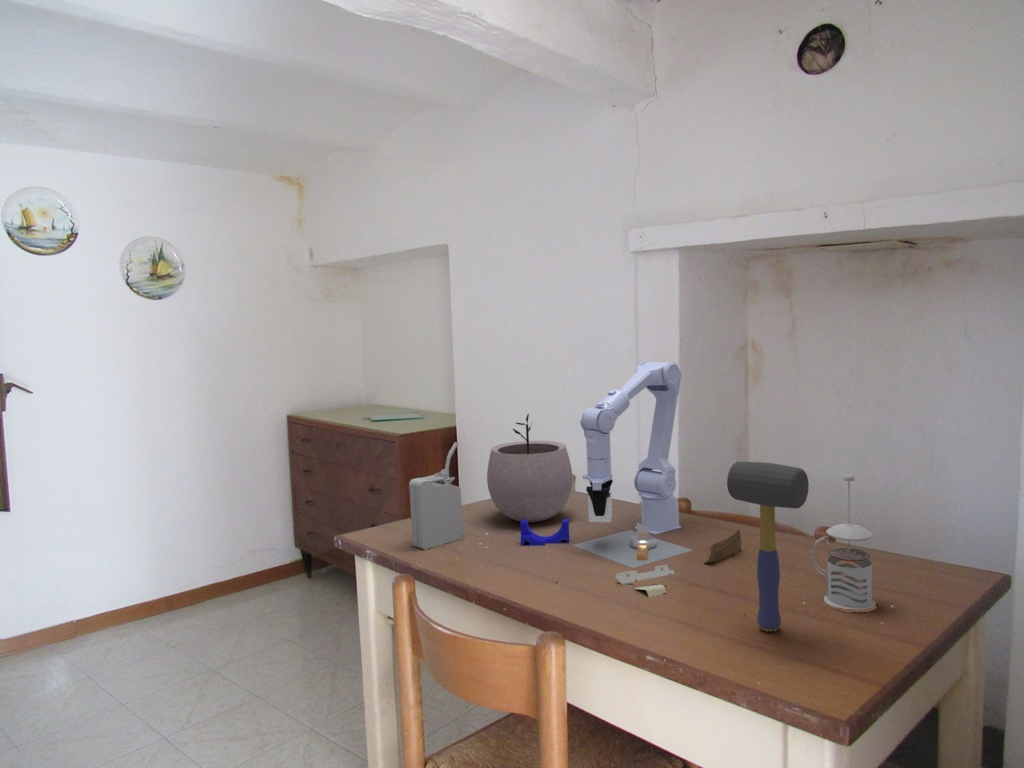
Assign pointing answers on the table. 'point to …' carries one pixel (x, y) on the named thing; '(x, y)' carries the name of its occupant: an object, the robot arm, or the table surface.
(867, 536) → the french press
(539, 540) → the cable clip
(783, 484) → the rubber mallet
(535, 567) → the table surface
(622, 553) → the mat
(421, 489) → the jerry can
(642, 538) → the scoop
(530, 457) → the plant pot
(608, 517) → the brushed metal cube
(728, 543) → the wood plank
